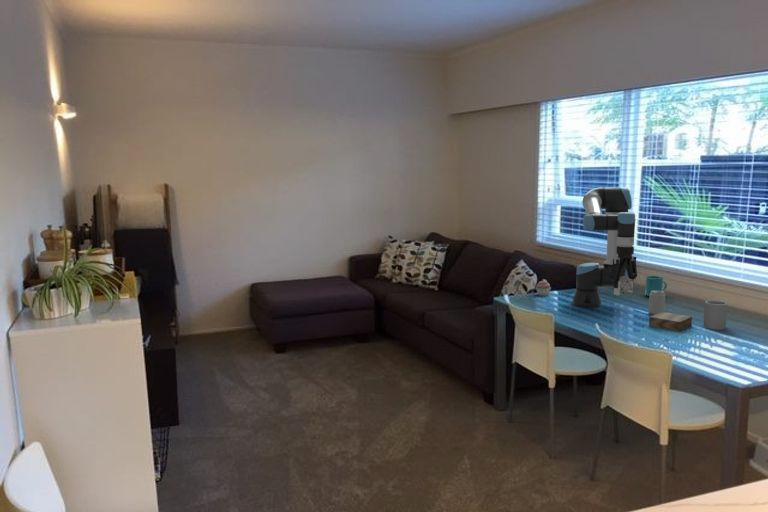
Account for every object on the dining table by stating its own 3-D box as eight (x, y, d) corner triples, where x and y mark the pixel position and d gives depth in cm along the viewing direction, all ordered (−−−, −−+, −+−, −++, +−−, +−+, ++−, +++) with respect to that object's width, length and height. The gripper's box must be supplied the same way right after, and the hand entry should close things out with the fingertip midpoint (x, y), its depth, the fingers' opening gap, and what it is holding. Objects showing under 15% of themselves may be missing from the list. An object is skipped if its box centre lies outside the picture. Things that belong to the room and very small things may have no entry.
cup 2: (725, 331, 274) (726, 305, 272) (702, 328, 279) (704, 303, 277) (726, 326, 282) (727, 301, 280) (704, 324, 287) (705, 299, 285)
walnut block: (649, 326, 285) (649, 316, 284) (661, 321, 294) (662, 311, 293) (679, 332, 275) (679, 322, 274) (691, 326, 284) (691, 316, 283)
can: (666, 316, 303) (667, 292, 301) (650, 315, 304) (651, 292, 302) (662, 312, 310) (663, 289, 308) (647, 312, 311) (648, 289, 310)
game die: (610, 292, 284) (611, 271, 282) (627, 291, 284) (628, 271, 283) (619, 296, 275) (619, 275, 273) (636, 296, 276) (637, 274, 274)
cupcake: (534, 293, 361) (534, 277, 359) (550, 293, 359) (550, 277, 358) (535, 296, 351) (536, 280, 350) (552, 297, 350) (552, 280, 349)
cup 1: (670, 297, 344) (671, 278, 342) (649, 297, 344) (650, 278, 342) (662, 294, 353) (663, 275, 351) (642, 294, 352) (643, 275, 351)
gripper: (616, 248, 268) (614, 297, 271) (647, 244, 278) (644, 292, 282) (603, 246, 274) (601, 295, 278) (633, 242, 284) (631, 289, 288)
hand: (623, 293), depth 280 cm, fingers closed on game die, 8 cm apart
